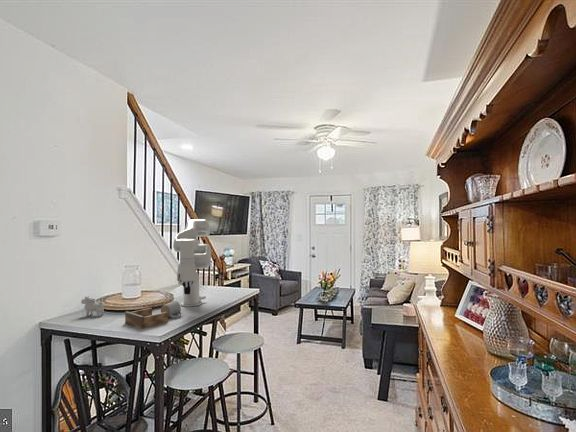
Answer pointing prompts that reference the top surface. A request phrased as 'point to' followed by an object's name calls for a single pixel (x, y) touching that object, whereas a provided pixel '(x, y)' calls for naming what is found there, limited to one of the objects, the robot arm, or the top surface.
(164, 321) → the open wooden box
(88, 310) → the grey animal figurine
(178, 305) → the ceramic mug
